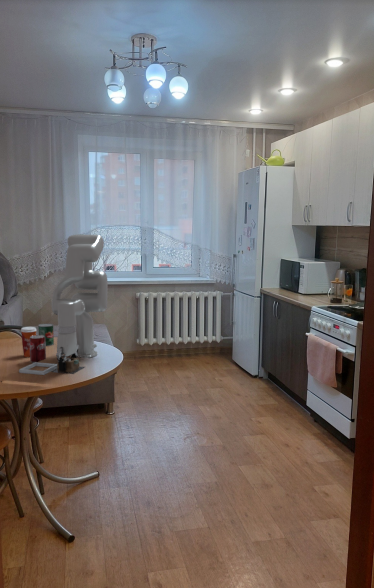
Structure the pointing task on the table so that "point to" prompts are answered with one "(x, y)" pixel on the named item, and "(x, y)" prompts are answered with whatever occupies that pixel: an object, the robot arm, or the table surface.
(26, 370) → the tray
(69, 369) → the brown hollow square block
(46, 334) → the canned tomato
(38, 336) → the soda can
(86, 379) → the table surface
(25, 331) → the paper cup
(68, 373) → the grey peg base
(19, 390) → the table surface
